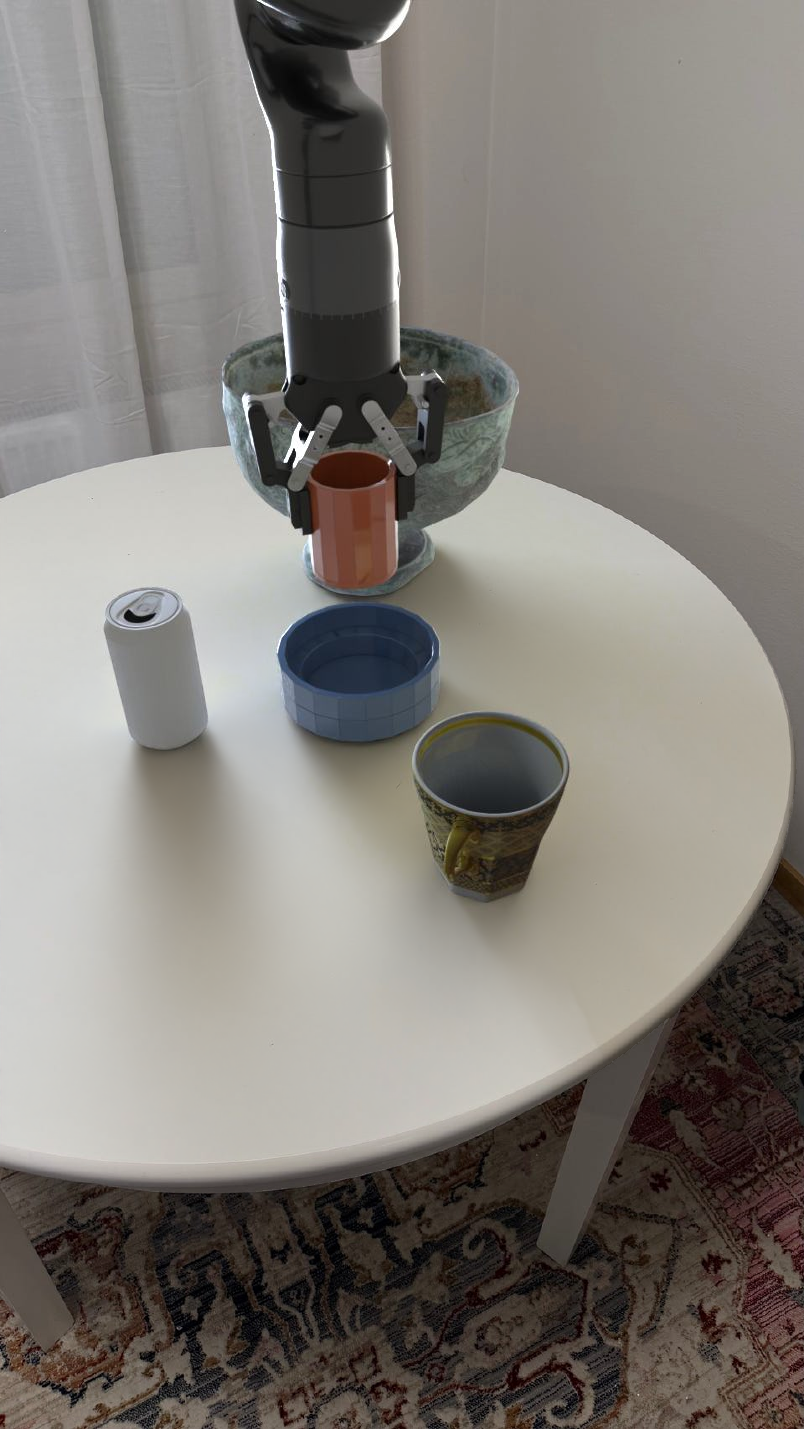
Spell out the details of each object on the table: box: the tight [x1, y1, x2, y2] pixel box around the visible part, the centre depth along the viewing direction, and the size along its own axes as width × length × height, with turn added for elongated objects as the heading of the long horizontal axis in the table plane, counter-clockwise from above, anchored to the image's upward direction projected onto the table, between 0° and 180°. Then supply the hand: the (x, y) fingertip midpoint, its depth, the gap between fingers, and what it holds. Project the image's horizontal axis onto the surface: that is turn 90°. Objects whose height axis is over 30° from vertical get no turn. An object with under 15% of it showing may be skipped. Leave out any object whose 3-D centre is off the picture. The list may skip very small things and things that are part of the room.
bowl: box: [276, 601, 441, 742], centre depth 83 cm, size 13×13×5 cm
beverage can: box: [103, 586, 209, 751], centre depth 78 cm, size 6×6×12 cm
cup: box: [306, 449, 398, 589], centre depth 74 cm, size 6×6×8 cm
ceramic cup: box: [411, 710, 571, 903], centre depth 66 cm, size 13×10×10 cm
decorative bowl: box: [221, 324, 520, 597], centre depth 95 cm, size 26×26×20 cm
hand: (352, 522), depth 74 cm, fingers closed on cup, 6 cm apart
